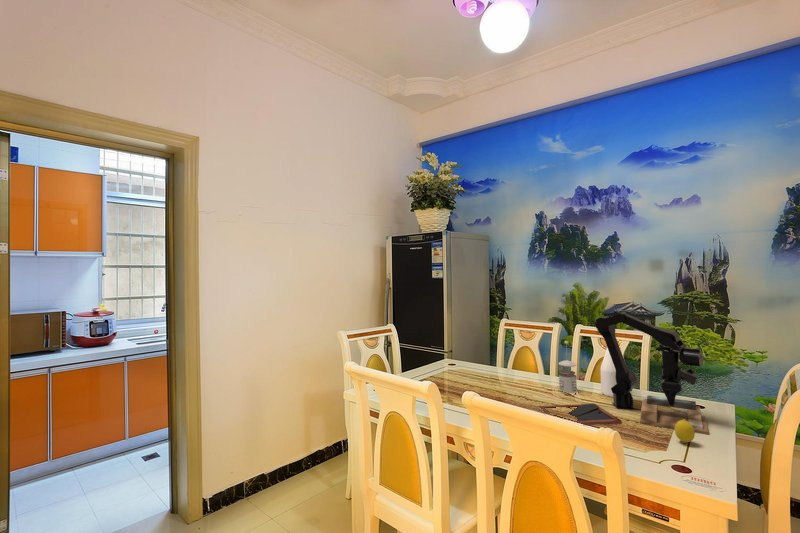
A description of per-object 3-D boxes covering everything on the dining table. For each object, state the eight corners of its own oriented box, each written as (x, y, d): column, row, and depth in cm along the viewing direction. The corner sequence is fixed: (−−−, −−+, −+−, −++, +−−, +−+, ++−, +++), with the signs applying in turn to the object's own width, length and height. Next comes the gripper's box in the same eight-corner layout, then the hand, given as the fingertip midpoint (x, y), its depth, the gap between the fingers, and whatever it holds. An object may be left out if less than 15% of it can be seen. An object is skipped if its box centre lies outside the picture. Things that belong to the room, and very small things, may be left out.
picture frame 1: (594, 407, 174) (538, 410, 173) (594, 403, 174) (538, 405, 173) (622, 425, 154) (558, 428, 153) (621, 420, 154) (558, 422, 153)
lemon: (695, 448, 132) (694, 423, 132) (675, 444, 135) (674, 420, 135) (694, 441, 137) (693, 418, 137) (674, 438, 140) (673, 415, 140)
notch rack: (639, 423, 154) (639, 410, 154) (642, 409, 168) (641, 398, 168) (708, 434, 142) (707, 420, 142) (705, 419, 156) (704, 406, 156)
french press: (557, 394, 192) (555, 342, 192) (557, 387, 203) (555, 338, 203) (579, 395, 188) (577, 343, 188) (578, 388, 199) (576, 338, 199)
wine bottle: (616, 391, 194) (614, 329, 194) (628, 397, 184) (625, 332, 185) (597, 391, 193) (595, 330, 194) (608, 398, 184) (605, 333, 184)
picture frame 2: (647, 403, 161) (646, 398, 161) (647, 400, 165) (647, 394, 165) (696, 410, 152) (696, 404, 152) (695, 406, 156) (695, 400, 156)
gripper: (697, 370, 146) (698, 413, 146) (694, 360, 161) (695, 398, 161) (660, 367, 152) (662, 407, 152) (661, 357, 168) (662, 394, 168)
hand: (671, 402), depth 158 cm, fingers open, 9 cm apart
